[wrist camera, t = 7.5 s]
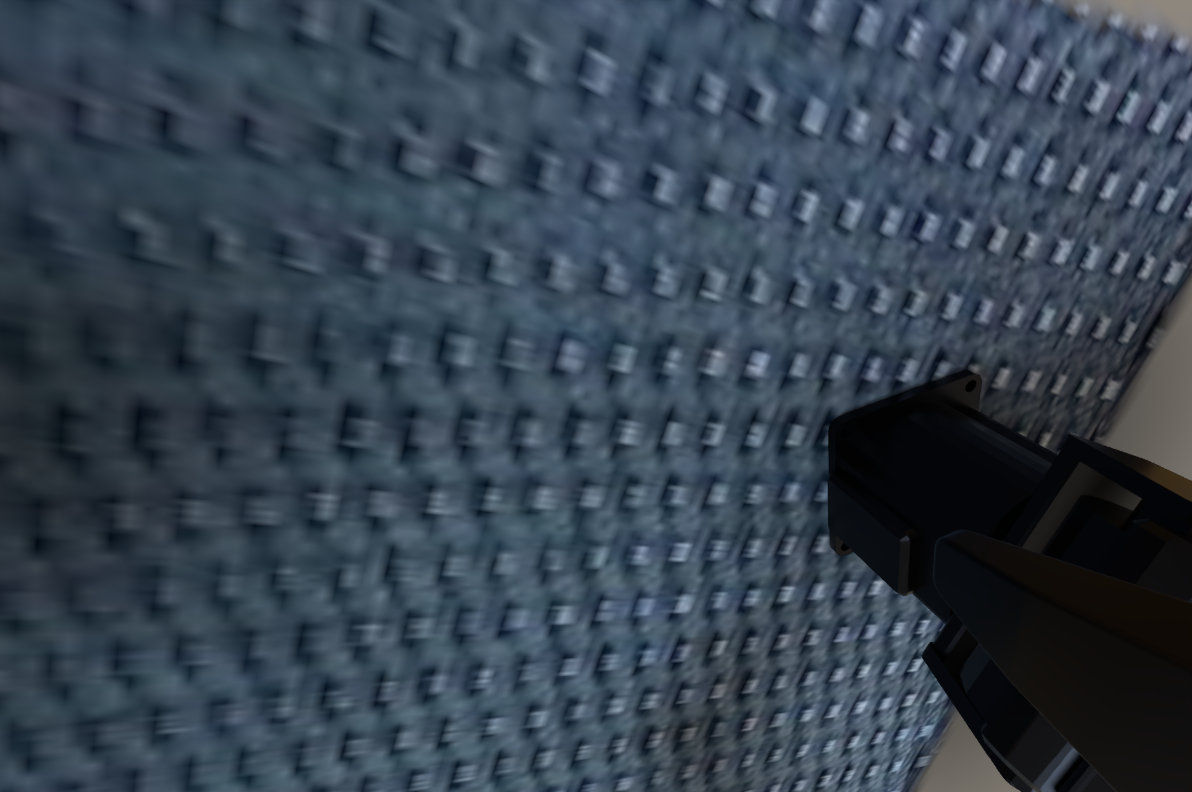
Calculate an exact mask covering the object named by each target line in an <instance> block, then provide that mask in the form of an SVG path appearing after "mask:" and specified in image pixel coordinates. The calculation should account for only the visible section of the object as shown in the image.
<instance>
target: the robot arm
mask: <svg viewBox="0 0 1192 792" xmlns="http://www.w3.org/2000/svg"><path fill="white" fill-rule="evenodd" d="M981 384H982V380H981V377H980V375H978V374H976V373H974V372H972V371H969V370H964V371H961V372H959V373H956V374H953V375H950V376H948V377H945V378H942V379H940V380H937V381H934V382H931V383H929V384H926V385H923V386H921V387H918V388H915V389H912V390H910V391H907V392H904V393H901V394H899V395H896V396H893V397H891V398H888V399H885V400H882V401H880V402H877V403H874V404H872V405H869V406H866V407H863V408H861V409H858V410H855V411H853V412H850V413H847V414H844V415H842V416H839V417H838V418H836V419H835V420H834V421H833V422H832V423H831V425H830V426H829V430H828V454H829V477H828V527H829V530H830V547H831V548H832V549H833V550H834V551H835V552H836V553H837V554H838V555H840V556H844V555H847V554H850V553H852V552H854V553H855V554H856V555H858V556H859V557H860V558H861V559H862V560H863V561H864V562H865V563H866V564H867V565H868V566H869V567H870V568H871V569H872V570H873V571H874V572H875V573H876V574H877V575H879V576H880V577H881V578H882V579H883V580H884V581H885V582H886V583H887V584H888V585H889V586H890V587H891V588H892V589H893V590H894V591H895V592H897V593H899V594H901V595H903V596H907V595H909V594H911V593H912V594H913V595H915V596H916V597H917V598H918V599H919V600H920V601H921V602H922V603H923V604H924V605H925V606H926V607H927V608H929V609H930V610H931V611H932V612H933V613H934V614H935V615H936V616H937V617H938V618H939V619H940V620H942V621H943V622H944V623H945V626H944V627H943V629H942V630H941V632H940V633H939V635H938V636H937V638H936V639H935V641H934V642H930V643H929V644H928V646H927V647H926V649H925V650H924V652H923V653H922V655H921V656H922V658H923V660H924V661H925V663H926V664H927V666H928V667H929V668H930V670H931V671H932V673H933V674H934V676H935V677H936V679H937V681H938V682H939V684H940V685H941V687H942V688H943V690H944V691H945V693H946V694H947V696H948V697H949V698H950V700H951V701H952V703H953V704H954V706H955V707H956V709H957V710H958V712H959V713H960V715H961V716H962V718H963V719H964V721H965V722H966V724H967V725H968V727H969V728H970V729H971V731H972V733H973V734H974V736H975V737H976V739H977V740H978V742H979V743H980V745H981V746H982V748H983V749H984V751H985V752H986V754H987V755H988V756H989V758H990V759H991V761H992V762H993V763H994V765H995V766H996V768H997V769H998V771H999V772H1000V774H1001V775H1002V777H1003V778H1004V779H1005V780H1006V781H1007V782H1008V783H1009V784H1010V785H1012V786H1013V787H1015V788H1016V789H1018V790H1020V791H1021V792H1192V481H1191V480H1189V479H1187V478H1184V477H1182V476H1180V475H1178V474H1176V473H1174V472H1172V471H1169V470H1167V469H1165V468H1163V467H1161V466H1159V465H1157V464H1155V463H1152V462H1150V461H1148V460H1145V459H1143V458H1139V457H1137V456H1134V455H1131V454H1128V453H1125V452H1122V451H1119V450H1116V449H1113V448H1111V447H1108V446H1105V445H1102V444H1099V443H1096V442H1093V441H1090V440H1087V439H1084V438H1081V437H1078V436H1076V435H1073V434H1070V433H1068V435H1067V436H1066V438H1065V439H1064V441H1063V442H1062V444H1061V445H1060V447H1059V449H1060V450H1061V452H1060V453H1059V455H1057V454H1055V453H1054V452H1052V451H1050V450H1048V449H1046V448H1044V447H1043V446H1041V445H1039V444H1037V443H1035V442H1033V441H1032V440H1030V439H1028V438H1026V437H1024V436H1022V435H1021V434H1019V433H1017V432H1015V431H1013V430H1011V429H1010V428H1008V427H1006V426H1004V425H1002V424H1000V423H999V422H997V421H995V420H993V419H991V418H989V417H988V416H986V415H984V414H982V413H980V412H978V410H979V401H980V392H981ZM844 428H845V429H844ZM843 429H844V431H843V432H842V430H843Z"/></svg>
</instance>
